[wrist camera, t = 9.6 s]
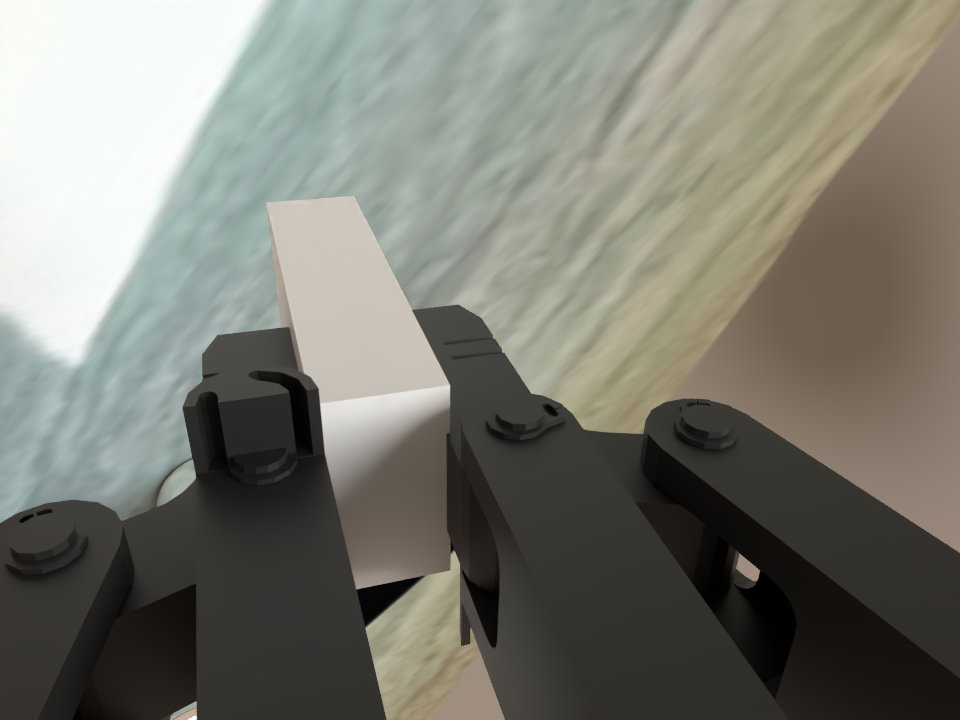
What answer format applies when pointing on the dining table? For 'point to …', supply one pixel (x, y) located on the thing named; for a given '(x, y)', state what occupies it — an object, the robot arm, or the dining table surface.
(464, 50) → the dining table surface
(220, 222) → the dining table surface
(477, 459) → the robot arm
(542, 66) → the dining table surface
